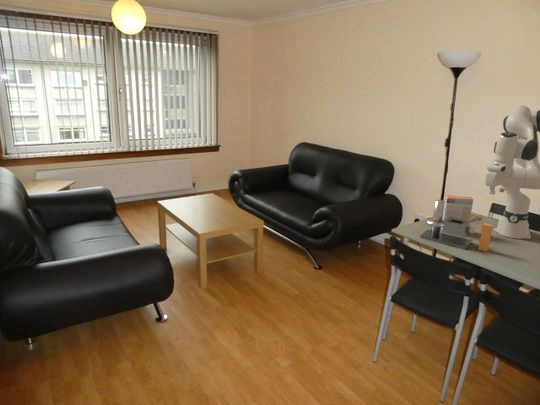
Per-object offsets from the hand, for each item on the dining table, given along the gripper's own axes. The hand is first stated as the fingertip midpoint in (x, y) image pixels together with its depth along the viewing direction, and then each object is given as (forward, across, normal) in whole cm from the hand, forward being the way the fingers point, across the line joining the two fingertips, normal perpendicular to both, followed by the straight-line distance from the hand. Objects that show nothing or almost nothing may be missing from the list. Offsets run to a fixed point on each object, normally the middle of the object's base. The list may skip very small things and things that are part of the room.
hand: (497, 193), depth 198 cm
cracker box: (+31, -12, -25) cm, 42 cm away
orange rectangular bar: (+31, +1, -1) cm, 31 cm away
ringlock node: (+31, +6, -19) cm, 37 cm away
